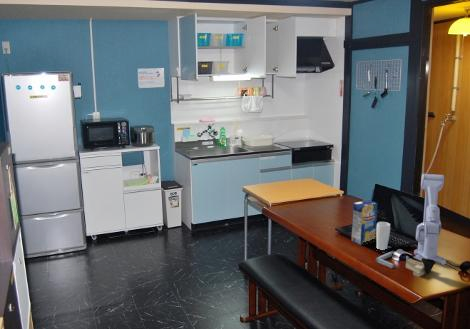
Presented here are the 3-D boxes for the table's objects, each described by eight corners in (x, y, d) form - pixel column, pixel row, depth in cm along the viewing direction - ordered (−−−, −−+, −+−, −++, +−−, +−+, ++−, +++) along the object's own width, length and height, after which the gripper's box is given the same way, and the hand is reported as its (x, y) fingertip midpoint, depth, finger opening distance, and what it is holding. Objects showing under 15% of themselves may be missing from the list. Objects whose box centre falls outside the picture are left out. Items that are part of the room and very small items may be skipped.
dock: (392, 253, 232) (392, 250, 231) (408, 260, 225) (408, 256, 224) (375, 261, 223) (375, 258, 223) (391, 268, 216) (392, 264, 216)
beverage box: (351, 240, 248) (353, 203, 243) (365, 236, 254) (368, 199, 248) (360, 245, 243) (362, 206, 237) (374, 240, 248) (377, 203, 243)
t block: (413, 263, 220) (413, 256, 219) (430, 270, 213) (431, 263, 213) (401, 269, 215) (402, 262, 214) (418, 276, 208) (419, 269, 207)
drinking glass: (385, 247, 239) (387, 221, 235) (390, 253, 232) (392, 226, 229) (373, 248, 239) (374, 221, 235) (377, 253, 232) (379, 226, 229)
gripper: (411, 243, 209) (409, 269, 212) (441, 253, 198) (438, 281, 201) (419, 239, 213) (417, 265, 217) (449, 249, 202) (446, 276, 205)
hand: (427, 273), depth 209 cm, fingers closed
